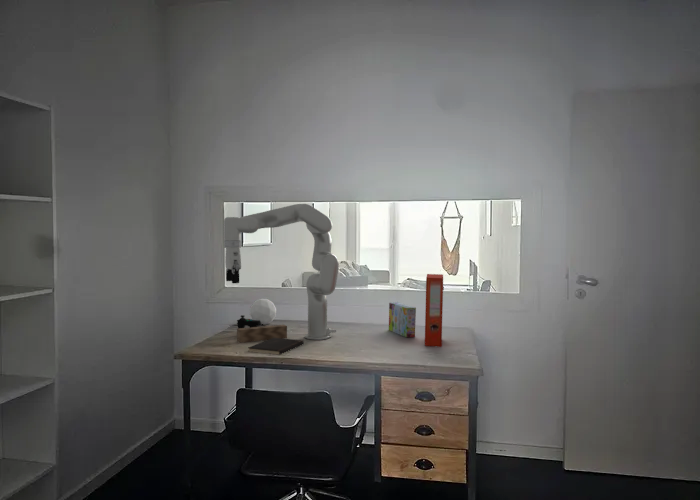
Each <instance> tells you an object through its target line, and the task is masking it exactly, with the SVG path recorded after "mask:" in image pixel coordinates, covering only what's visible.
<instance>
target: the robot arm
mask: <svg viewBox="0 0 700 500" xmlns="http://www.w3.org/2000/svg"><path fill="white" fill-rule="evenodd" d="M300 222H301V223H305V226H306V229H307V230H308V231H309V232H310V233H311V235H312V237H313V239H314V240H313V241H314V243H313V244H314V246H313V253H312V258H311V266H312V268H313V270H315V271H318V272H319V273H313V274H311V275H309V276H308V277H307V280H306V282H305V283H306V284H305V285H306V293H307V333H306V334H305V335H304V339H308V340H313V341H314V340H315V341H317V340H318V341H321V340H322V341H323V340H327V339H330V338H331V334H332V333H333V334H334V333H335V334H336V333H337V329H336V328H330V327H328V298H327V296H329V295H331V294H333V292H334V291H335V289H336V287H337V280H338V274H339V268H340V264H339V263H340V262H339V259H338V257H337V256H336V255H335V254H334V253H332V243H333V242H332V241H333V240H332V237H331V233H330V232H331V230H332V229H333V222H332V219H330V217H329V216H328V215H327V214H324V213H323V212H321V211H320V210H318V209H317V208H315V207H313V206H312V205H310V204H309V203H296V204H291V205H287V206H283V207H279V208H273V209H270V210H266V211H263V212H257V213H252V214H249V215H244V216H240V217H239V216H238V217H236V216H230V217H229V216H228V217H225V218H224V219H223V248H225V256H224V257H225V262H224V263H225V269H226V270H225V281H226V282H231V283H232V284H239V283H240V270H241V269H242V256H241V255H242V254H241V249H240V248H241V247H242V233H244V234H254V233H256V232H258V230H261V229H270V228H274V229H275V228H279V227H283V226H287V225H290V224H291V225H292V224H296V223H300Z"/></svg>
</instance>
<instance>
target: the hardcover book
mask: <svg viewBox="0 0 700 500" xmlns="http://www.w3.org/2000/svg"><path fill="white" fill-rule="evenodd" d="M304 342H305V341H304V340H302V339H294V338H293V339H290V338H272V339H269V340H263V341H260V342H259V343H257V344H254V345H251V346H249V347H248V348H247V349H248V352H250V351H253V352H252V353H259V352H263V353H262V354H269V353H271V354H272V355H278V354H279V356H280V355H282V353H283V354H285V353H287V352H289V351H291V350H290V349H292V350H294V349H296V348H298V347H300V345H301V346H302V344H303V345H304ZM295 347H296V348H295ZM293 348H294V349H293ZM288 350H289V351H288ZM286 351H287V352H286ZM284 352H285V353H284ZM271 354H270V355H271Z"/></svg>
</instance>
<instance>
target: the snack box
mask: <svg viewBox="0 0 700 500" xmlns="http://www.w3.org/2000/svg"><path fill="white" fill-rule="evenodd" d="M388 304H389V305H388V331H390V332H393V333H395V334H398V335H400V336H402V337H404V338H415V337H416V318H417V317H416V313H417V308H416V307H415V306H411V305H408V304H405V303H402V302H398V301H397V302H396V301H395V302H394V301H392V302H391V301H390V302H389V303H388Z"/></svg>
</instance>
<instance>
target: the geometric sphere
mask: <svg viewBox="0 0 700 500" xmlns="http://www.w3.org/2000/svg"><path fill="white" fill-rule="evenodd" d="M249 316H250V318H251V320H260V322H261V324H260V325H262V324H263V326H267V325H268V324H270V323H272V322H273V320H274V319H275V318H276V316H277V307H276V306H275V303H274V302H273V301H271V300H270V299H268V298H258V299H256V300H255V301H253V302H252V304H251V306H250V307H249Z"/></svg>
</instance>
